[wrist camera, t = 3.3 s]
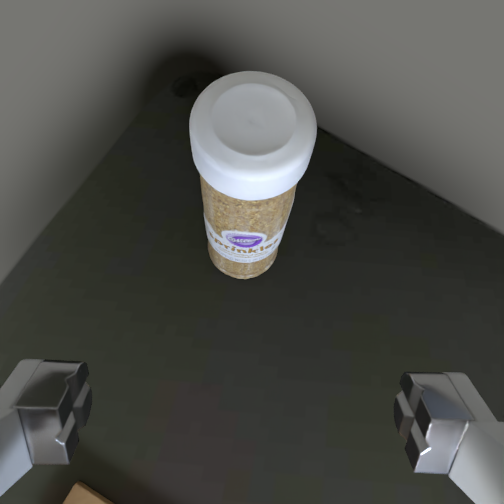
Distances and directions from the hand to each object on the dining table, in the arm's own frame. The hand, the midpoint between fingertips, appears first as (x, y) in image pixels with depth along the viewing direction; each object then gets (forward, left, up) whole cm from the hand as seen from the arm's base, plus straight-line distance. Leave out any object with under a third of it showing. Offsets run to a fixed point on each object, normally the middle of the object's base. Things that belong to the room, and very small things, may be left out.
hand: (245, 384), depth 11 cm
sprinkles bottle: (-4, +8, -15) cm, 17 cm away
